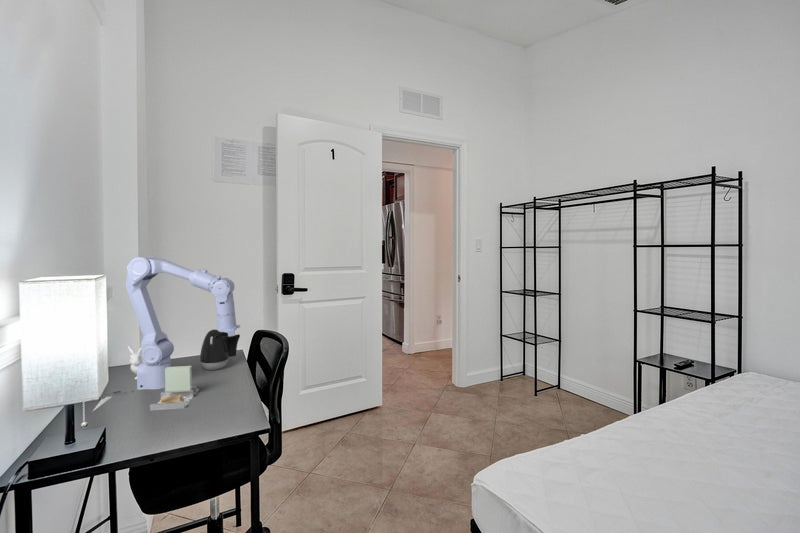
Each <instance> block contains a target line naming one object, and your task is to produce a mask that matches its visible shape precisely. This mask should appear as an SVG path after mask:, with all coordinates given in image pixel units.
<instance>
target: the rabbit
mask: <svg viewBox="0 0 800 533" xmlns="http://www.w3.org/2000/svg"><path fill="white" fill-rule="evenodd" d="M127 349H128V350H129V354H130V355H129V356H130V358H129V364H130V370H131V372H132V373H133V374H135V375H136V376H135V377H134V380H137V369H138V366H139V364H140V363H146V362H144V360H143V359H142V347H140V348H139V349H138V351H137V352H135V350H134V349H133V348H132V345H128V346H127Z"/></svg>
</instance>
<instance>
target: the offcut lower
mask: <svg viewBox="0 0 800 533" xmlns="http://www.w3.org/2000/svg"><path fill="white" fill-rule="evenodd" d="M159 401H160V400H159ZM159 401H158V402H159ZM158 402H157V403H158ZM179 402H184V398H182V399H181V400H180V401H179ZM160 403H161V401H160V402H159V403H158V404H160ZM164 403H175V402H164Z"/></svg>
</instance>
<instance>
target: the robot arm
mask: <svg viewBox="0 0 800 533" xmlns="http://www.w3.org/2000/svg"><path fill="white" fill-rule="evenodd" d="M126 271H127V273H126V280H125V289H126V291H127V294H128V297H129V300H130V303H131V305H132V308H133V312H134V315H135V317H136V320H137V323H138V325H139V328H140V330H141V334H142V339H141V343H140V346H141V347H142V353H141V357H142V359H143V360H144V362H146V363H140V364H139V366H138V369H137V374H136V376H137V379H136V390H139V391H140V390H160V389H165V369H166V368H167V367H172V359H171V356H172V354H173V353H174V350H175V347H174V344H173V342H172V341H171V340H170V339H169V337H168V334H166V333H165V332H164V331H162V329H161V326H160V323H159V320H158V316H157V315H156V311H155V308H154V306H153V302H152V300H151V299H152V298H151V297H150V293H149V291H148V289H147V287H148V285H149V283H150V282H151V280H152V279H153V278H154V277H156V276H157V275H159V274H164V273H165V274H168V275H172V276H175V277H177V278H182V279H184V280H187V281H189V282H190V284H191V286H193V287H196V288H198V289H202V290H203V291H206V292H209V293H212V295H213V296H214V300H215V310H216V311H215V312H216V318H217V319H216V320H217V321H216V322H217V330H218V331H219V333H217V335H218V336H219V338H220V340H221V342H222V345H223V348H224V351H225V353H226V352H227V353H228V356H229V358H231V357H236V355H237V350H238V349H237V348H238V342H239V340H240V338H241V335H240V334H239V333H238V334H236V330H238V329H240V328H241V324H237V318H236V309H235V300H234V293H233V292H234V290H235V283H234V281H232V279H230V278H229V277H222V275H219V274H218V275H216V274H212V273H211V272H208V270H207V269H197V270H194V271H193V270H191V269H188V268H186V267H184V266H182V265H180V264H177V263H175V262H172V261H170V260H167V259H165V258H161V257H157V256H145V257H144V256H143V257H142V256H139V257H134V258H133V259H132V260H131V261H130V262H129V263H128V265H126ZM141 347H140V348H141Z"/></svg>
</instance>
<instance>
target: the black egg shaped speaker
mask: <svg viewBox="0 0 800 533" xmlns="http://www.w3.org/2000/svg"><path fill="white" fill-rule="evenodd" d="M217 333H219V331H218V329H215V328H214V329H210V330H209V331H207V333H206V334H205V337H204V338H203V342H202V344H201V347H200V354H199V361H200V364H201V365H202V367H203V368H204V369H206V370H208V371H217V370H221V369H224V367H226V365H227V363H228V360H229V359H230V357H229V356H228V353H227V352H226V353H225V351H224V348H223V345H222V342H221V340H220V338H219V336H218V335H217Z"/></svg>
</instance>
